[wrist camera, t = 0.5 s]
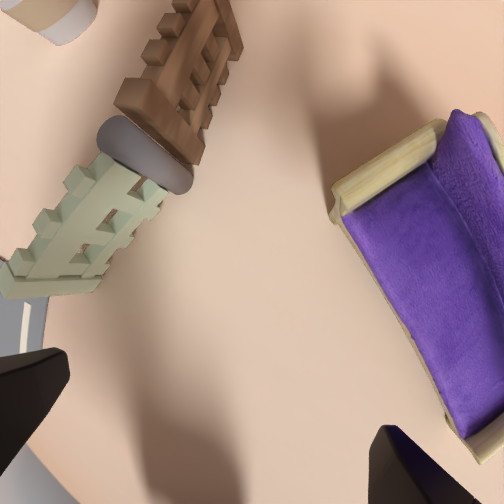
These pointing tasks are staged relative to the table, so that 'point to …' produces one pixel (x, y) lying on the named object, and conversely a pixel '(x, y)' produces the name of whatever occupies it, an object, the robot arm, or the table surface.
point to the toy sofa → (440, 260)
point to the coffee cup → (52, 17)
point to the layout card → (21, 324)
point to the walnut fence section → (183, 75)
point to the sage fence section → (94, 215)
